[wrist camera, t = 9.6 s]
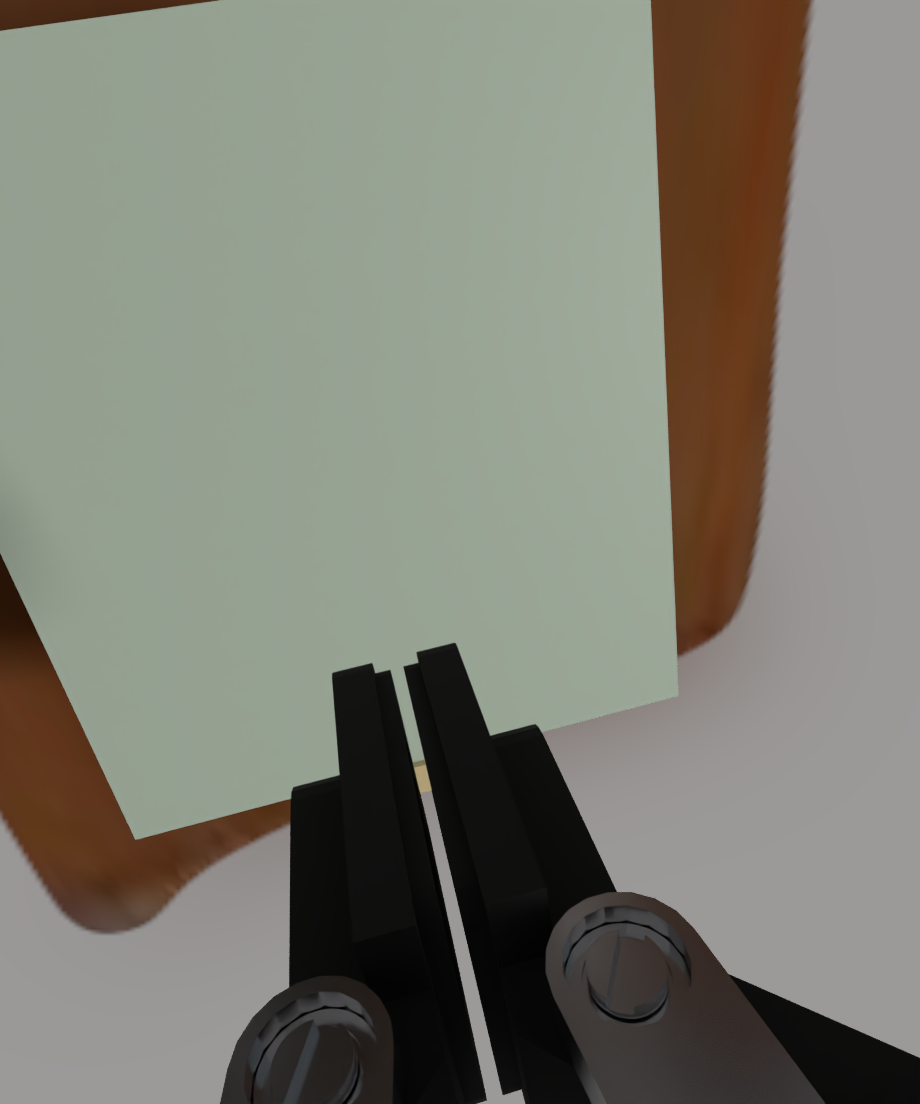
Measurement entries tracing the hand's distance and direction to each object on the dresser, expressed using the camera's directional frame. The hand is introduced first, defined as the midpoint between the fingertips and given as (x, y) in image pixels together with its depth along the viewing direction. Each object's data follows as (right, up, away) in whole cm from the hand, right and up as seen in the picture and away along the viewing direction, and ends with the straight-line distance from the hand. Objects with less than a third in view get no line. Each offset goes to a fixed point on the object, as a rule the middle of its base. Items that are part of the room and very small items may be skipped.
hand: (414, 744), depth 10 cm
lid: (-3, +5, +11) cm, 12 cm away
